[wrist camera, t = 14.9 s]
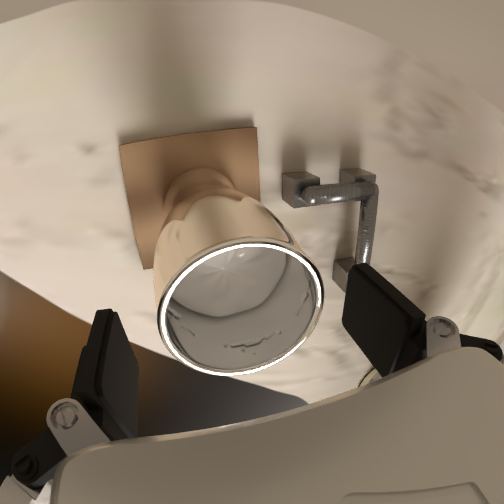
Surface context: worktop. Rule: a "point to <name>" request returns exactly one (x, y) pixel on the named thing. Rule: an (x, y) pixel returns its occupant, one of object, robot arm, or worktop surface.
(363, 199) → the grey metal bent rod
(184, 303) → the beer glass
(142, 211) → the walnut board
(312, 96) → the worktop surface
